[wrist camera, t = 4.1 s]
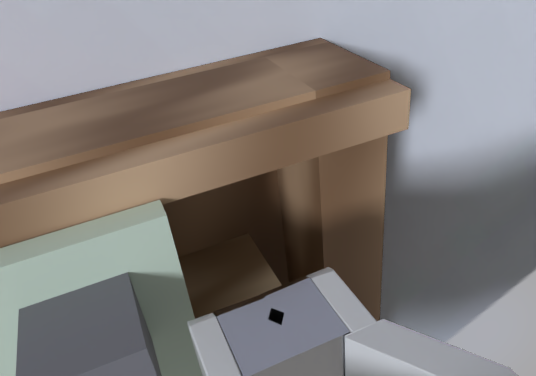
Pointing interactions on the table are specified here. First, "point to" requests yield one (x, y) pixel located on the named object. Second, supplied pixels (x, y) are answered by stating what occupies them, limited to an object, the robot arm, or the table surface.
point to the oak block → (226, 275)
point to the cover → (97, 301)
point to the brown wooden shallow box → (221, 159)
